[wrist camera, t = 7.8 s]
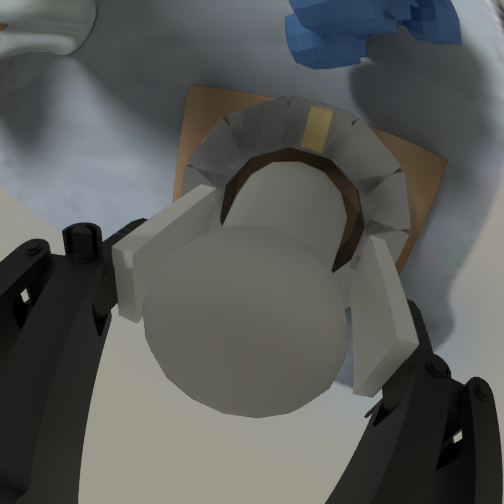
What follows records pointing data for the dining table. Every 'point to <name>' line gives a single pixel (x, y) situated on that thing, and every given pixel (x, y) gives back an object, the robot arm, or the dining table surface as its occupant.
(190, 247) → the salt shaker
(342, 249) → the grey segmented ring
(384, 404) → the robot arm
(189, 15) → the dining table surface
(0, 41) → the beer glass
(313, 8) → the grapes
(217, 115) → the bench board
